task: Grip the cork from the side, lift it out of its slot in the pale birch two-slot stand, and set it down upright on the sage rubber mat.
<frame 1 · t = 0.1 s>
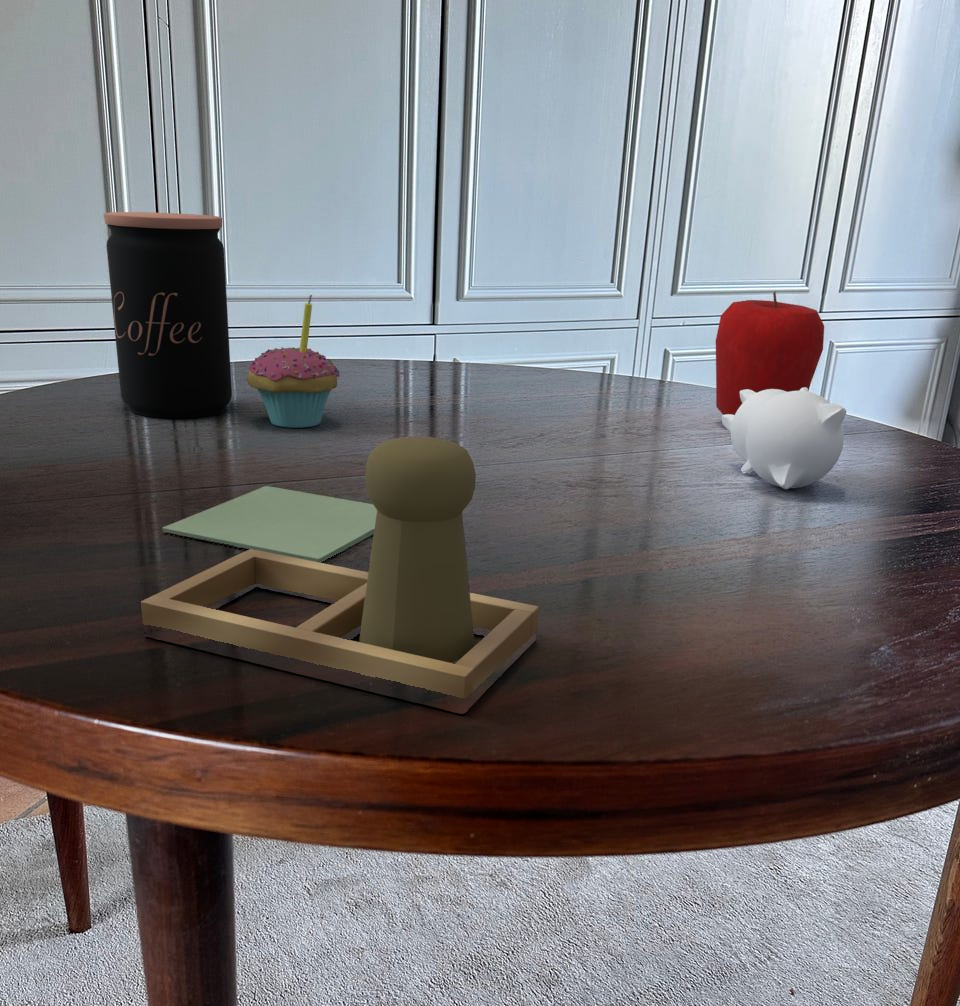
coffee jar: (178, 410, 103), on the table
cork: (416, 659, 52), resting in stand
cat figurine: (785, 482, 88), on the table
mat: (290, 524, 71), on the table
stand: (343, 639, 53), on the table
cupcake: (294, 425, 99), on the table
apple: (755, 428, 108), on the table
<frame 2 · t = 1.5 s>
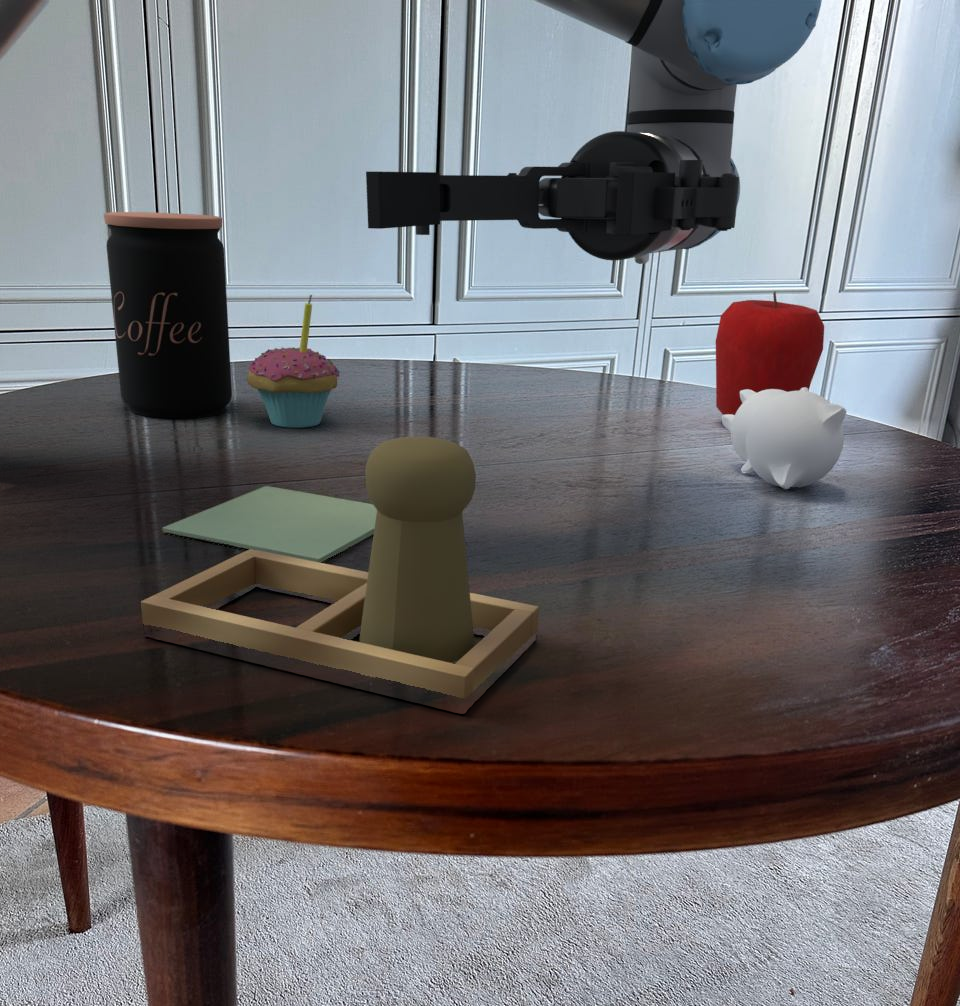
hand: (491, 202, 50), 21 cm above the table, tool horizontal, fingers open, 13 cm apart
nothing on the table moved.
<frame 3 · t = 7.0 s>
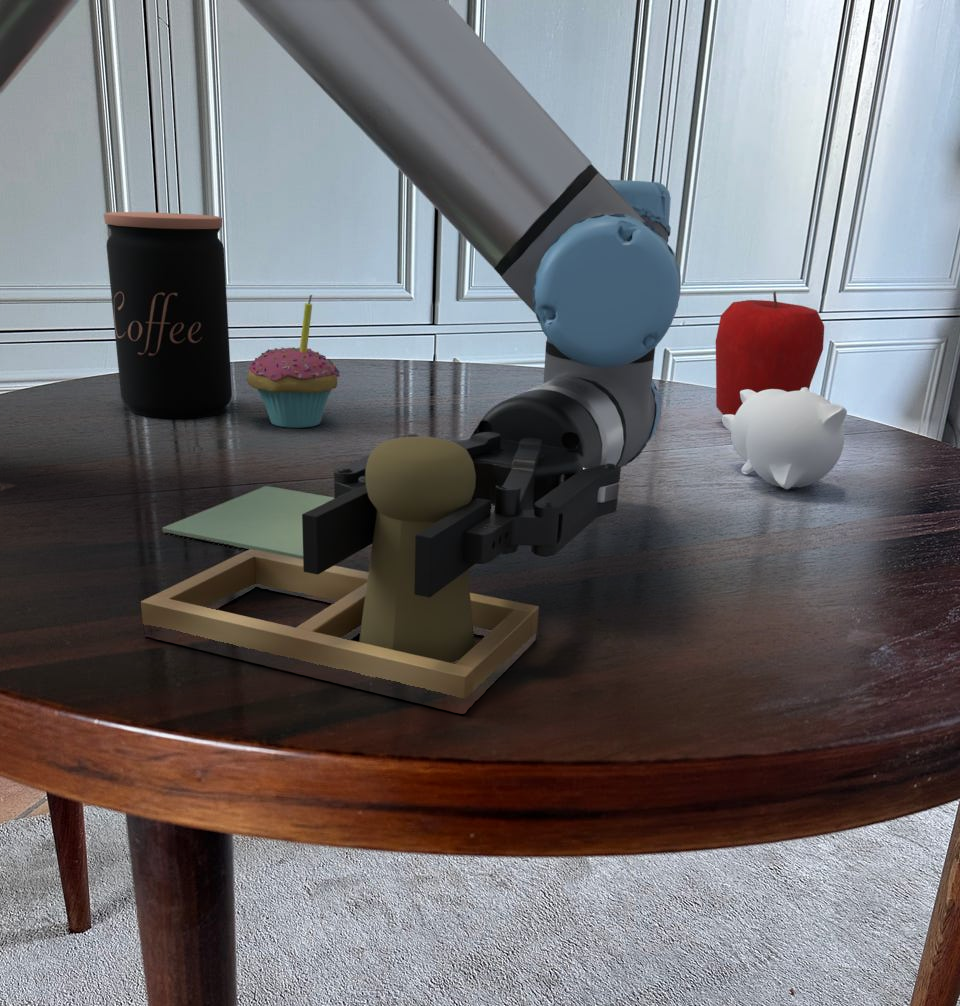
hand: (365, 555, 45), 7 cm above the table, tool horizontal, fingers closed on cork, 5 cm apart
cork: (416, 659, 52), resting in stand, touching gripper
everything else where it was.
when the fingers open (7 cm above the table, at t = 15.1 s): cork stays where it is, resting on mat.
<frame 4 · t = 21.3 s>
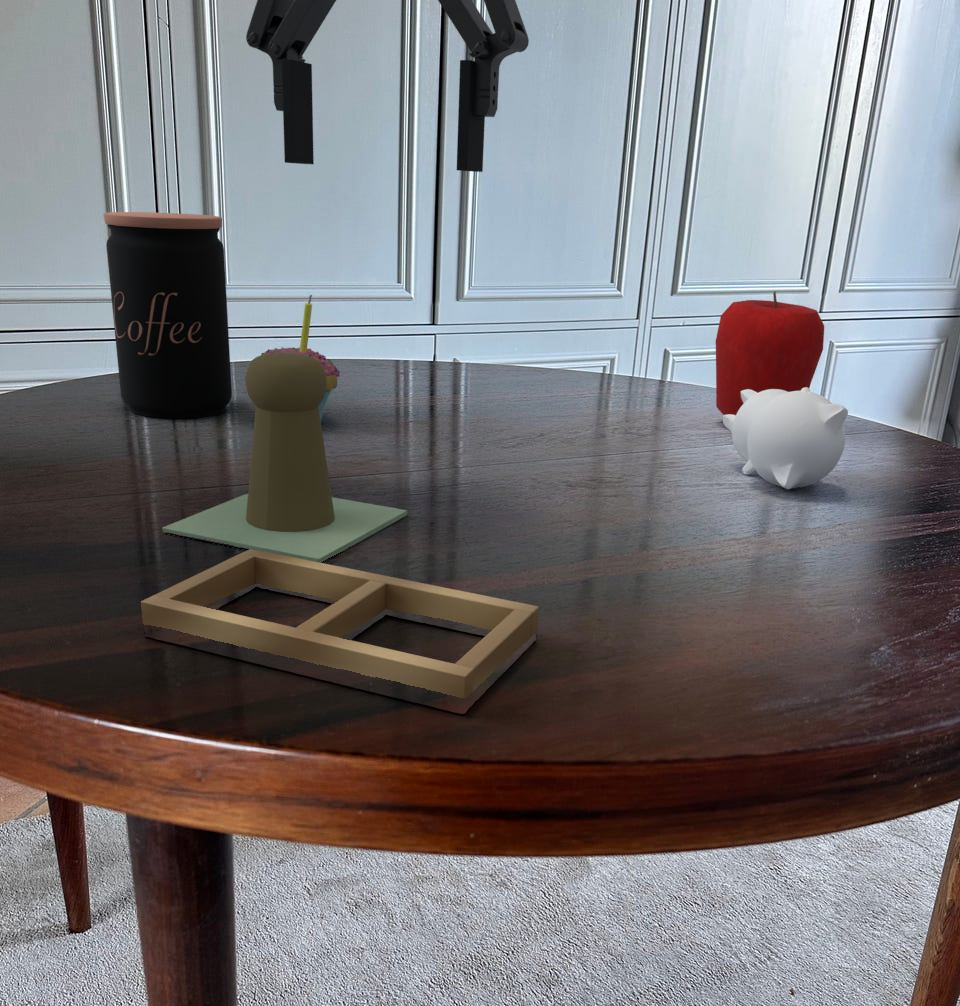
hand: (381, 168, 72), 23 cm above the table, tool pointing down, fingers open, 13 cm apart
cork: (290, 521, 71), resting on mat
everything else where it was.
at the end: cork inside the target area on the mat (0.0 cm from its centre), point 0.2 cm above the mat's base; cork tilted 0° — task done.
